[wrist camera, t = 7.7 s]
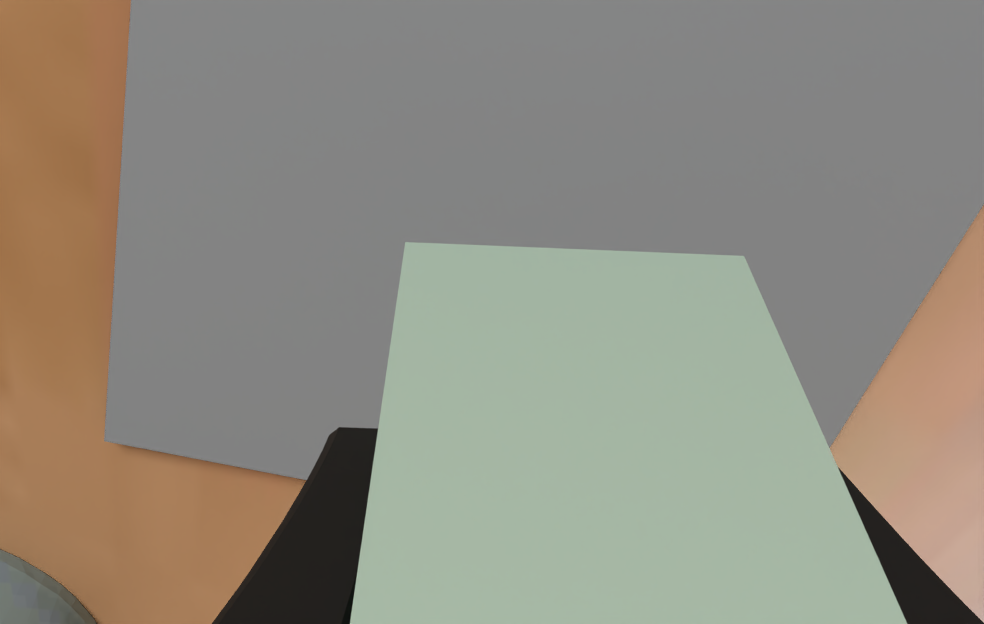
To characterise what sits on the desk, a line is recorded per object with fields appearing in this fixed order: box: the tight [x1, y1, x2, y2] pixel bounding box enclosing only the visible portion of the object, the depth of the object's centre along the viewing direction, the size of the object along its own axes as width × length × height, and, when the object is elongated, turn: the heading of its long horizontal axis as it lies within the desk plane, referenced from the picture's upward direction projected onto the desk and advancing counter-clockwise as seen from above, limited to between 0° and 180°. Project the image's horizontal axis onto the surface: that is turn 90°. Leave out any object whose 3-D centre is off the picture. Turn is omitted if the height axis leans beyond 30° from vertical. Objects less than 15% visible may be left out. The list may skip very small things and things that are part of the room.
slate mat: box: [104, 0, 984, 480], centre depth 16 cm, size 14×14×1 cm
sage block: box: [350, 242, 907, 624], centre depth 9 cm, size 4×4×7 cm
